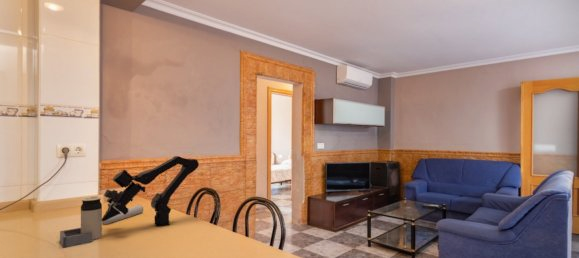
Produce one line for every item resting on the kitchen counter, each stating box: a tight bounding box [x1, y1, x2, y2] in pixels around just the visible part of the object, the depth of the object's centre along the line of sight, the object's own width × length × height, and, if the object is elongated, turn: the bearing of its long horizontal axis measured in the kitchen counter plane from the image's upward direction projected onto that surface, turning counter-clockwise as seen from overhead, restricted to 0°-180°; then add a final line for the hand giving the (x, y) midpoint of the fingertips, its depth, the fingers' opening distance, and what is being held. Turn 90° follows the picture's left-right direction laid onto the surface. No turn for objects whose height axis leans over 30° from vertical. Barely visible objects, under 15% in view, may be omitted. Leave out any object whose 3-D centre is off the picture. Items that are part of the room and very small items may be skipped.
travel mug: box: [80, 195, 103, 241], centre depth 138 cm, size 8×8×18 cm
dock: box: [59, 227, 93, 249], centre depth 134 cm, size 10×12×4 cm
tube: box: [102, 204, 144, 225], centre depth 170 cm, size 5×5×25 cm
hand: (102, 220), depth 140 cm, fingers closed, pressing on travel mug
